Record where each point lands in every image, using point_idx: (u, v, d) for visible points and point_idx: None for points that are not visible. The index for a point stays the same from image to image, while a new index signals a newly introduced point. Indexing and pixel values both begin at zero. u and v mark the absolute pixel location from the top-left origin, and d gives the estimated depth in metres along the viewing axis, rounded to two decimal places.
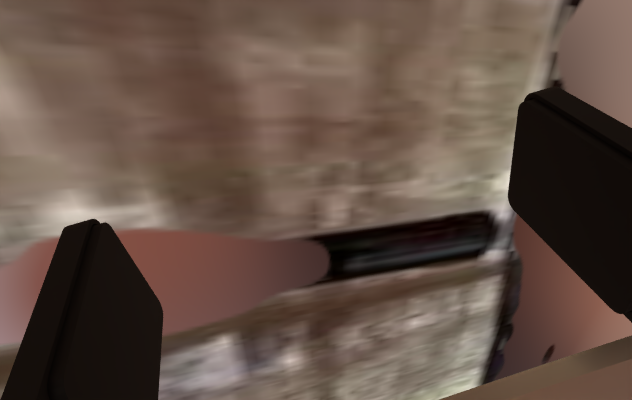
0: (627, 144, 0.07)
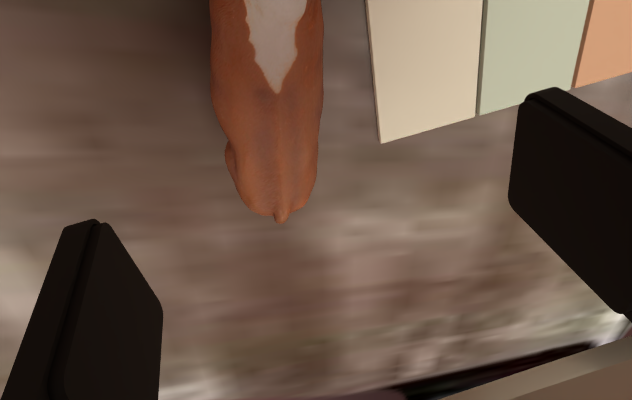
0: (627, 144, 0.07)
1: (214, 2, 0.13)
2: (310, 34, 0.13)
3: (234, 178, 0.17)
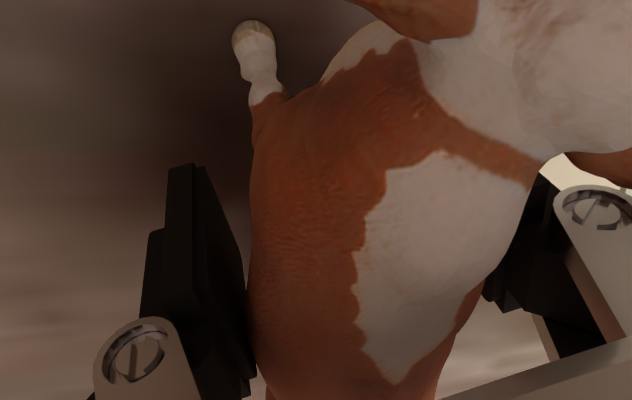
0: None
1: (266, 216, 0.06)
2: (482, 285, 0.06)
3: None
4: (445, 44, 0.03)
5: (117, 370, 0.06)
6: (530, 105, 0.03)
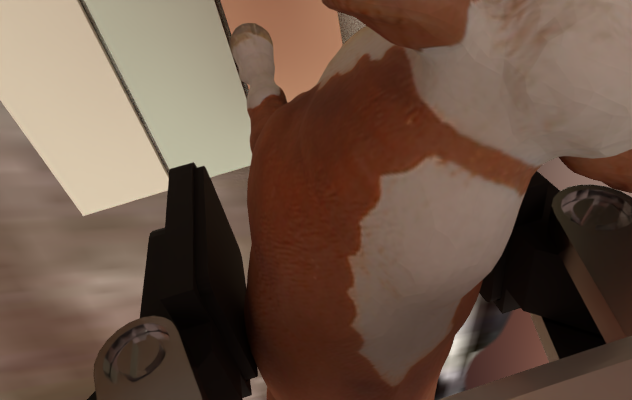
0: None
1: (263, 220, 0.06)
2: (478, 287, 0.06)
3: None
4: (435, 53, 0.04)
5: (118, 370, 0.06)
6: (522, 112, 0.03)
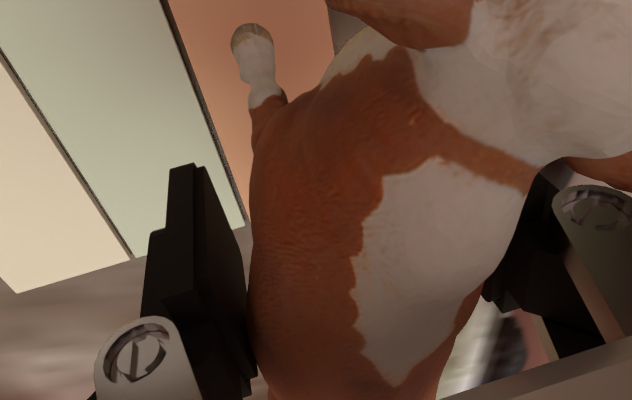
0: None
1: (265, 221, 0.06)
2: (481, 287, 0.06)
3: None
4: (437, 52, 0.03)
5: (118, 370, 0.06)
6: (524, 113, 0.03)
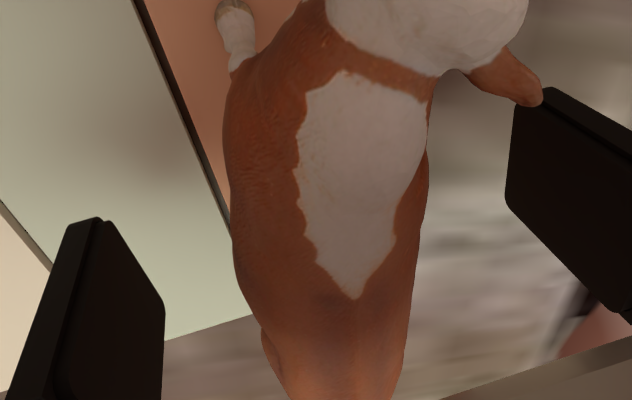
0: (621, 144, 0.07)
1: (232, 154, 0.07)
2: (418, 203, 0.07)
3: (278, 378, 0.11)
4: None
5: None
6: (397, 23, 0.04)
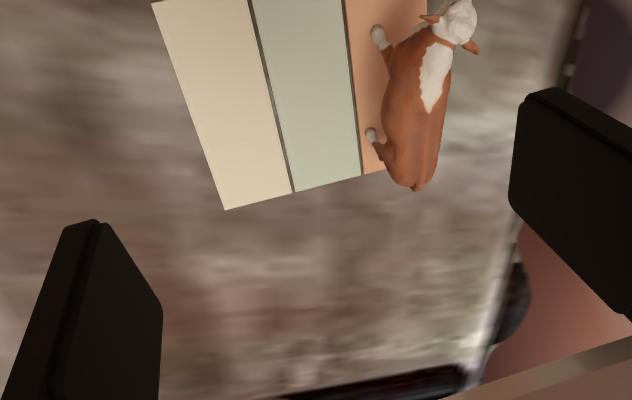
0: (627, 144, 0.07)
1: (397, 68, 0.26)
2: (448, 82, 0.26)
3: (391, 164, 0.29)
4: (435, 24, 0.23)
5: None
6: (448, 32, 0.23)
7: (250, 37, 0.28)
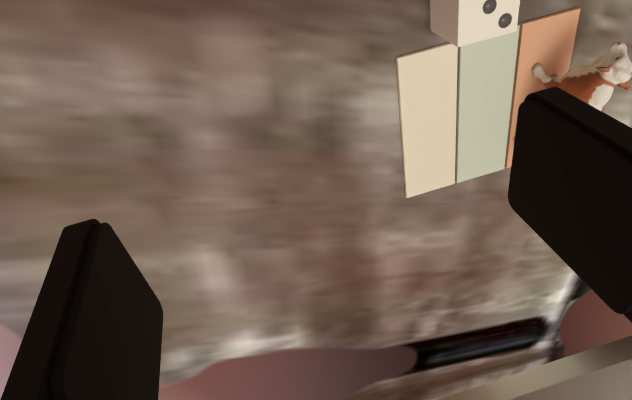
0: (627, 144, 0.07)
1: None
2: None
3: None
4: (605, 72, 0.35)
5: None
6: (614, 78, 0.35)
7: (453, 76, 0.41)
